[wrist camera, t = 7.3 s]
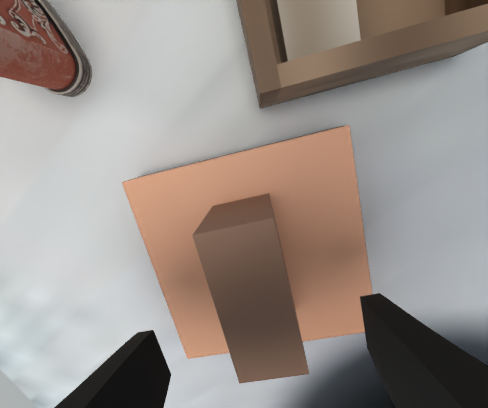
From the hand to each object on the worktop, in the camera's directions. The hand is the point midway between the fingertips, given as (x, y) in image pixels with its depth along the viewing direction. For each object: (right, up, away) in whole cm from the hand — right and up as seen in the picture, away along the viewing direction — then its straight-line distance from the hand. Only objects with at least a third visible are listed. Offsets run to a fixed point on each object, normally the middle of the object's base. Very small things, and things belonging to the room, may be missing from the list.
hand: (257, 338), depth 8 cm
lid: (0, +2, +6) cm, 6 cm away
